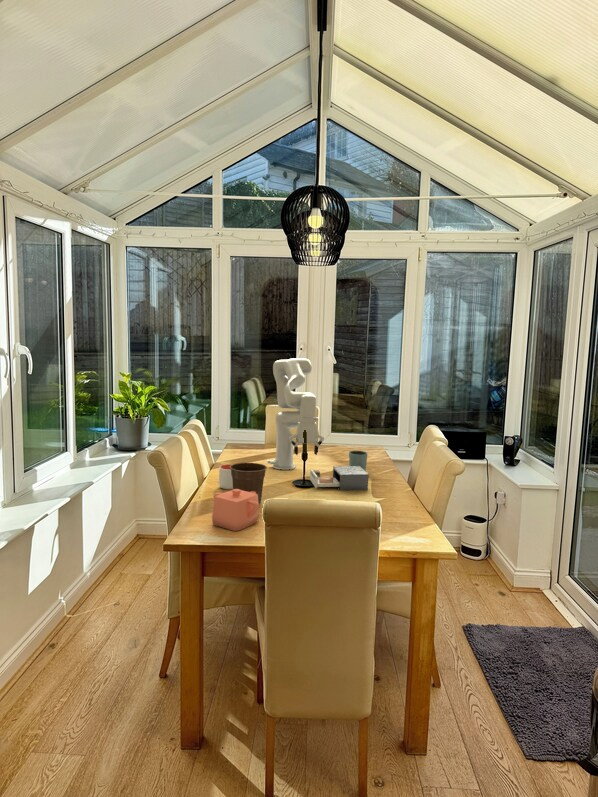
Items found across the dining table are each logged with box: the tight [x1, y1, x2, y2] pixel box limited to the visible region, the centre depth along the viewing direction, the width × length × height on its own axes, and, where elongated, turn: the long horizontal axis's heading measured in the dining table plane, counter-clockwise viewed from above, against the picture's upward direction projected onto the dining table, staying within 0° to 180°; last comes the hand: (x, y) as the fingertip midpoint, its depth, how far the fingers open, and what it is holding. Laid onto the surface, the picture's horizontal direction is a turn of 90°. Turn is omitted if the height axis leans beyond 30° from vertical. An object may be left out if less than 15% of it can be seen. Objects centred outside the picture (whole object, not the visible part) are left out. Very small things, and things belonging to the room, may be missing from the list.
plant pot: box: [230, 462, 268, 505], centre depth 241 cm, size 16×16×16 cm
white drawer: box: [309, 468, 340, 489], centre depth 271 cm, size 13×15×6 cm
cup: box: [218, 464, 233, 490], centre depth 263 cm, size 10×10×10 cm
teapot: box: [211, 489, 260, 532], centre depth 216 cm, size 20×22×14 cm
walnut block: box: [312, 469, 321, 478], centre depth 283 cm, size 4×4×4 cm
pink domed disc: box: [319, 475, 333, 483], centre depth 271 cm, size 7×7×2 cm
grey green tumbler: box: [348, 450, 368, 472], centre depth 296 cm, size 10×10×12 cm
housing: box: [332, 465, 370, 491], centre depth 273 cm, size 14×16×8 cm
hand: (306, 454), depth 268 cm, fingers open, 9 cm apart
